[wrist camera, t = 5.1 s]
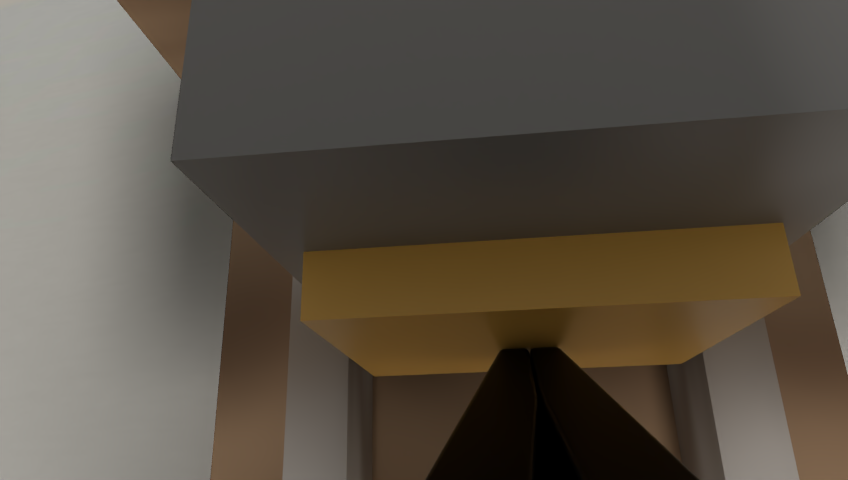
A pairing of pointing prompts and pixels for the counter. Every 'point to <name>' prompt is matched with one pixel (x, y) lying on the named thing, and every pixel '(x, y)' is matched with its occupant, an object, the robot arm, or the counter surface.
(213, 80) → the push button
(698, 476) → the wooden block stand
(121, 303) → the counter surface
